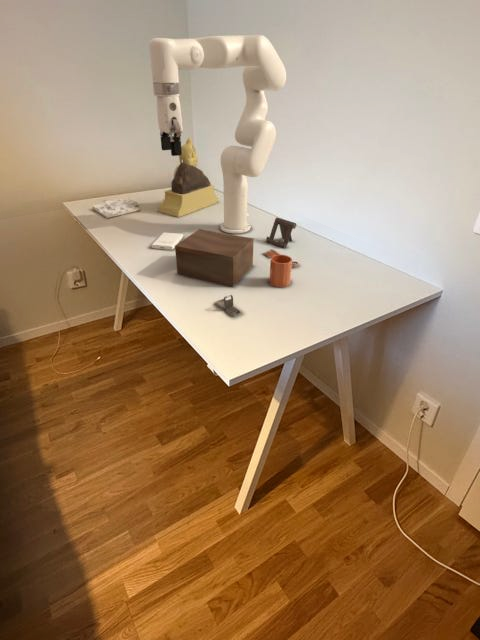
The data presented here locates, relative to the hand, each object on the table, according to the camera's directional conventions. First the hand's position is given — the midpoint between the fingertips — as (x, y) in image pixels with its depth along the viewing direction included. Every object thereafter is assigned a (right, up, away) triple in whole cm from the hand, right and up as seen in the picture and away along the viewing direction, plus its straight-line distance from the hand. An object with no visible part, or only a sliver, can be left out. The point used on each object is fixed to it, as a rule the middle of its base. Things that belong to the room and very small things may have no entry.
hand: (171, 152), depth 122 cm
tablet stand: (+38, -24, +26) cm, 51 cm away
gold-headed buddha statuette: (-2, +1, +61) cm, 61 cm away
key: (+36, -32, +13) cm, 50 cm away
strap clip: (+19, -50, -14) cm, 56 cm away
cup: (+34, -41, -1) cm, 54 cm away
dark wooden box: (+14, -37, +5) cm, 40 cm away
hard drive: (-6, -24, +24) cm, 35 cm away
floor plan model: (-37, 0, +59) cm, 70 cm away
